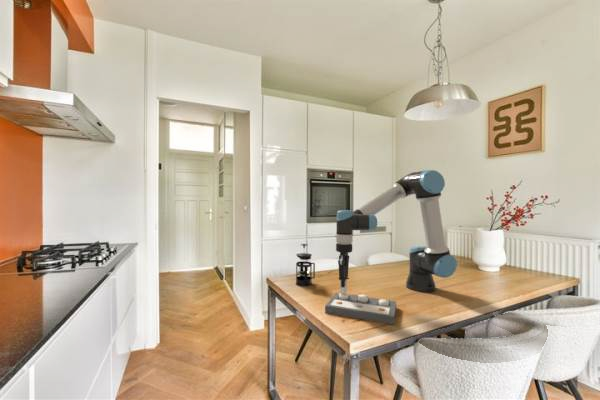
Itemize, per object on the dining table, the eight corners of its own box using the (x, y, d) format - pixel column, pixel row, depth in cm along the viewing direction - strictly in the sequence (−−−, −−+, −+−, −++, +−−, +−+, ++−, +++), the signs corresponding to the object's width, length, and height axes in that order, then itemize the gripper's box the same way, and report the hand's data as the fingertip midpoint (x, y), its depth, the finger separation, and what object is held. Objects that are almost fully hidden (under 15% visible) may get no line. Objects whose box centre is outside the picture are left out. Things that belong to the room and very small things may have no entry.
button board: (396, 307, 122) (396, 300, 122) (393, 324, 106) (393, 315, 106) (336, 298, 133) (336, 291, 133) (325, 312, 117) (325, 304, 117)
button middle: (368, 302, 124) (368, 295, 124) (367, 305, 120) (367, 298, 120) (359, 300, 126) (359, 293, 126) (357, 303, 122) (357, 296, 122)
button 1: (349, 299, 128) (349, 293, 128) (347, 303, 124) (347, 296, 124) (340, 298, 130) (340, 291, 130) (337, 301, 125) (337, 294, 125)
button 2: (389, 307, 121) (389, 300, 121) (388, 310, 117) (388, 303, 117) (379, 305, 123) (379, 298, 123) (377, 309, 119) (378, 301, 119)
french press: (296, 287, 151) (297, 245, 151) (292, 282, 160) (293, 243, 160) (316, 285, 154) (317, 245, 154) (311, 280, 163) (312, 242, 163)
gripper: (339, 240, 134) (339, 288, 134) (332, 244, 122) (331, 296, 122) (354, 241, 131) (354, 290, 131) (349, 245, 119) (348, 299, 119)
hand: (343, 293), depth 127 cm, fingers closed
